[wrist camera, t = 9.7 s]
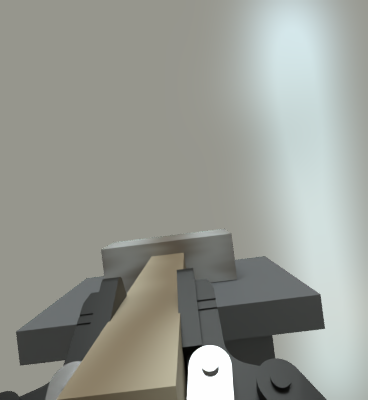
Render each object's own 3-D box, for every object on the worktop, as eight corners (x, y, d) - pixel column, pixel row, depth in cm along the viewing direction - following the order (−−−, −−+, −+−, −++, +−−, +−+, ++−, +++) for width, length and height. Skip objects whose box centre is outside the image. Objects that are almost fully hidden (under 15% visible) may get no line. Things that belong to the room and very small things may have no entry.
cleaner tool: (-108, 541, 6) (-128, 372, 6) (119, 280, 26) (114, 242, 26) (373, 486, 6) (350, 315, 6) (229, 267, 26) (224, 228, 26)
